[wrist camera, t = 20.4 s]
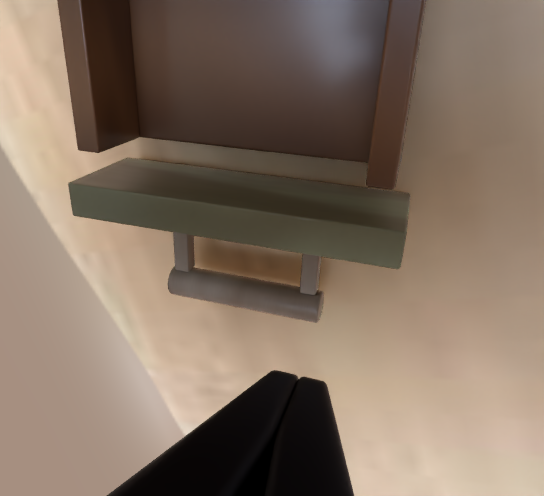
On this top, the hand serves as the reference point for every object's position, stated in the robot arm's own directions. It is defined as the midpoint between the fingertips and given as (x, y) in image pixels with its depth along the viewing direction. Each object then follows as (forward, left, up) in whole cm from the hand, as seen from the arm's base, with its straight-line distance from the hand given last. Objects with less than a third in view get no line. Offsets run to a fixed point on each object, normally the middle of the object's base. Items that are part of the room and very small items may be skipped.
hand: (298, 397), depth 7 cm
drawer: (+5, +1, -11) cm, 12 cm away
